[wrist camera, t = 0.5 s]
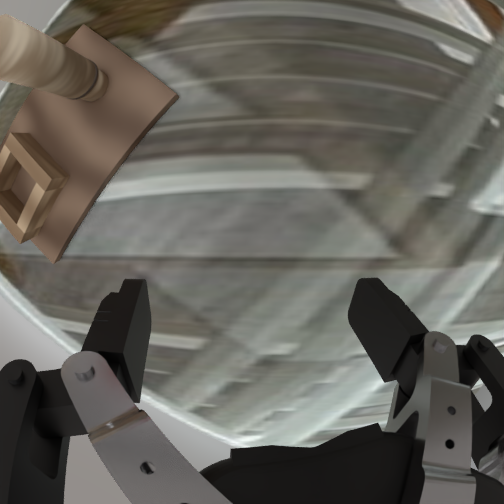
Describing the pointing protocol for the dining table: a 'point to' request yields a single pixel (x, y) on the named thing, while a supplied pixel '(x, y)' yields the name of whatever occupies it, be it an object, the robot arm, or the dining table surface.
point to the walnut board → (74, 146)
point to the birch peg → (46, 63)
